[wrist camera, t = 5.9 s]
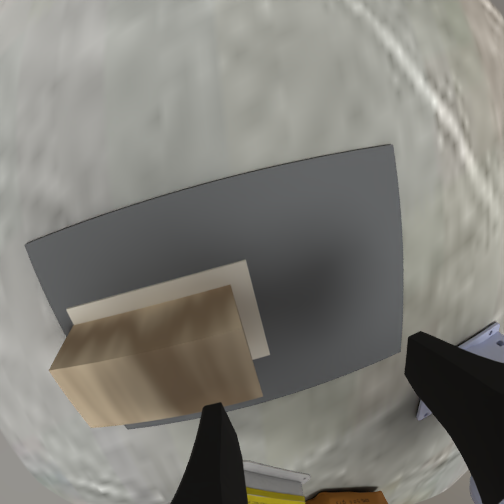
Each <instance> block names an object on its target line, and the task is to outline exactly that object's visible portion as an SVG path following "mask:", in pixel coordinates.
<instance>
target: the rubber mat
mask: <svg viewBox="0 0 504 504" xmlns="http://www.w3.org/2000/svg"><path fill="white" fill-rule="evenodd" d="M25 247H26V250H27V253H28V255H29V258H30V260H31V263H32V265H33V268H34V270H35V273H36V275H37V277H38V280H39V282H40V284H41V286H42V289H43V291H44V293H45V295H46V297H47V299H48V302H49V304H50V306H51V308H52V310H53V312H54V314H55V316H56V318H57V320H58V322H59V324H60V325H61V327H62V329H63V331H64V333H65V335H66V337H67V336H68V334H69V332H70V330H71V329H72V327H73V325H77V324H81V323H85V322H89V321H93V320H97V319H101V318H105V317H109V316H113V315H117V314H121V313H125V312H129V311H133V310H137V309H141V308H144V307H148V306H152V305H156V304H160V303H164V302H167V301H171V300H175V299H179V298H183V297H186V296H190V295H194V294H197V293H201V292H205V291H208V290H212V289H216V288H219V287H223V286H227V285H230V284H231V288H232V291H233V295H234V298H235V302H236V305H237V309H238V312H239V315H240V319H241V322H242V326H243V329H244V332H245V336H246V339H247V342H248V346H249V349H250V353H251V356H252V360H253V363H254V366H255V370H256V373H257V377H258V380H259V384H260V387H261V390H262V394H263V397H259V398H256V399H252V400H248V401H245V402H241V403H237V404H233V405H229V406H225V407H224V409H225V411H226V412H228V411H232V410H236V409H240V408H244V407H248V406H252V405H255V404H259V403H263V402H266V401H270V400H273V399H276V398H280V397H283V396H286V395H289V394H293V393H296V392H299V391H302V390H305V389H308V388H311V387H314V386H317V385H320V384H322V383H325V382H328V381H331V380H333V379H336V378H339V377H341V376H344V375H347V374H349V373H352V372H354V371H357V370H359V369H362V368H364V367H367V366H369V365H371V364H374V363H376V362H378V361H381V360H383V359H385V358H388V357H390V356H392V355H394V354H396V353H399V352H401V338H402V320H403V242H402V223H401V209H400V198H399V188H398V178H397V170H396V162H395V155H394V148H393V145H383V146H377V147H371V148H365V149H359V150H353V151H347V152H342V153H336V154H331V155H326V156H321V157H316V158H311V159H306V160H301V161H296V162H292V163H287V164H283V165H278V166H274V167H269V168H265V169H261V170H256V171H252V172H248V173H244V174H240V175H236V176H232V177H228V178H224V179H220V180H217V181H213V182H209V183H205V184H202V185H198V186H195V187H191V188H187V189H184V190H180V191H177V192H173V193H170V194H167V195H163V196H160V197H157V198H153V199H150V200H147V201H144V202H141V203H137V204H134V205H131V206H128V207H125V208H122V209H119V210H116V211H113V212H110V213H107V214H104V215H101V216H98V217H95V218H93V219H90V220H87V221H84V222H81V223H79V224H76V225H73V226H70V227H68V228H65V229H62V230H60V231H57V232H54V233H52V234H49V235H47V236H44V237H42V238H39V239H36V240H34V241H32V242H29V243H27V244H25ZM201 414H202V412H198V413H193V414H188V415H183V416H177V417H172V418H166V419H160V420H154V421H147V422H140V423H133V424H125V427H126V428H127V429H135V428H143V427H150V426H157V425H163V424H169V423H175V422H181V421H186V420H191V419H196V418H201Z"/></svg>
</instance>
